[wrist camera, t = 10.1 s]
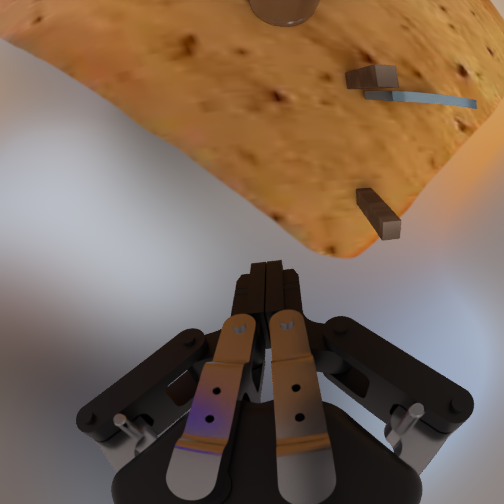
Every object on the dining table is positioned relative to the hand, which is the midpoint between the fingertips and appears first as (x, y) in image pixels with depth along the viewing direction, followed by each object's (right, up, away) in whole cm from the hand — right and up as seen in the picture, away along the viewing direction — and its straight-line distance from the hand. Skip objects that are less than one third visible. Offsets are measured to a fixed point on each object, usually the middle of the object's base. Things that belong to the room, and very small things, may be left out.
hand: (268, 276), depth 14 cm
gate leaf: (+21, +24, +16) cm, 36 cm away
